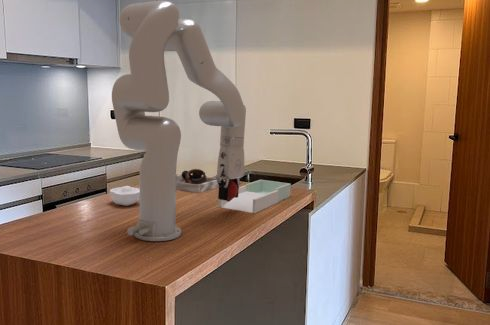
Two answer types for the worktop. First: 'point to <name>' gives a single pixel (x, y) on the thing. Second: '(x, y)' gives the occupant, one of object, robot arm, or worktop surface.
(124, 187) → the cell model
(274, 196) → the white piece
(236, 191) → the red round fruit
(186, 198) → the worktop surface
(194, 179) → the pottery mug
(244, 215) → the worktop surface
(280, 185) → the tray
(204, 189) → the mug stand
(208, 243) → the worktop surface
